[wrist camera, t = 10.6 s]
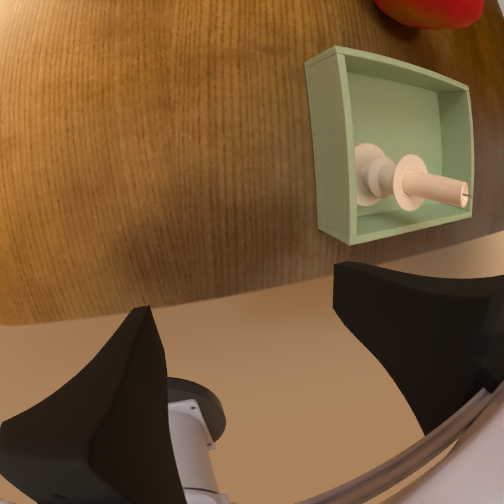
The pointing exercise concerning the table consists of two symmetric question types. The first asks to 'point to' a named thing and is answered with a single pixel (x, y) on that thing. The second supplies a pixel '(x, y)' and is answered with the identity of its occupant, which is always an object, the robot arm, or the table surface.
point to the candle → (402, 181)
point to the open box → (384, 138)
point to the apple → (433, 12)
